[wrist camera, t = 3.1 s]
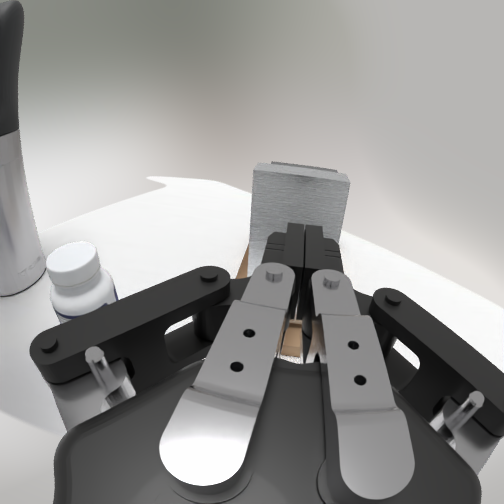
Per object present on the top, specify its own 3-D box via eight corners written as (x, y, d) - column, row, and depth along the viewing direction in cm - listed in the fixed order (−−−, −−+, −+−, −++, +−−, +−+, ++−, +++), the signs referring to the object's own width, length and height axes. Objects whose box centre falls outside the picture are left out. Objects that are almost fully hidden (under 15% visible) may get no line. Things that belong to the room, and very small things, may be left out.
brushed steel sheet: (245, 316, 24) (253, 169, 18) (249, 300, 26) (258, 162, 20) (357, 330, 23) (400, 191, 17) (354, 314, 25) (392, 182, 18)
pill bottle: (86, 319, 24) (60, 235, 20) (136, 325, 24) (116, 236, 20) (65, 361, 20) (24, 273, 15) (120, 371, 20) (86, 279, 15)
